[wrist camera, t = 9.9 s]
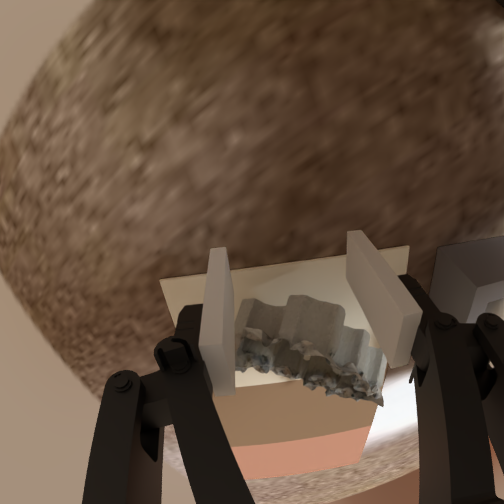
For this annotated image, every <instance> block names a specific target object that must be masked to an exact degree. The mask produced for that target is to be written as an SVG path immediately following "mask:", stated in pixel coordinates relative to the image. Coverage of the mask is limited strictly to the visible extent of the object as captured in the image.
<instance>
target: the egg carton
mask: <svg viewBox="0 0 504 504" xmlns="http://www.w3.org/2000/svg"><path fill="white" fill-rule="evenodd" d="M345 315H346V313H345V309H344V308H343V307H342V306H341V305H338V304H332V303H329V302H326V301H319V300H317V299H314V298H312V297H309V296H308V295H290V296H289V298H288V301H287V304H286V306H273V305H269V304H265V303H263V302H261V301H259V300H257V299H256V298H250V299H243V300H242V302H241V305H240V308H239V311H238V314H237V317H236V320H235V322H234V328H235V371H241V372H242V373H244V372H245V371H246V370H247V369H248V368H250V367H253V368H254V369H255V370H256V371H258V372H260V373H262V374H263V373H266V374H267V373H268V372H269V370H271V371H272V372H274V373H275V374H276V375H279V376H284V377H287V378H289V379H290V380H292V379H294V380H295V379H302V380H303V386H306V387H308V388H309V389H310V390H312V391H313V390H315V389H316V387H318V386H319V387H324V388H325V389H326V391H325V394H326V397H328V396H331V395H338V396H339V397H343V398H352V399H354V400H355V401H356V402H358V401H359V400H360V399H362V400H366V401H372V402H374V403H376V404H378V405H380V406H382V407H383V406H384V404H383V397H382V393H381V389H380V387H381V386H382V385H383V380H384V375H385V369H386V365H387V360H386V357H385V355H384V353H383V351H382V349H381V348H375V347H370V346H369V341H370V334H369V333H368V332H367V331H366V330H364V329H354V328H351V327H348V326H344V320H345ZM304 355H305V356H307V355H310V360H304Z"/></svg>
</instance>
